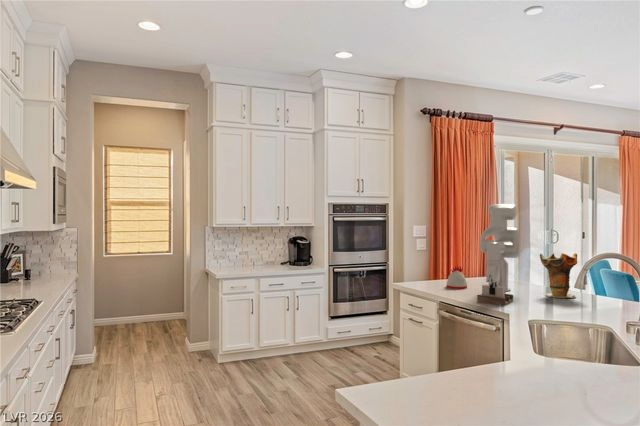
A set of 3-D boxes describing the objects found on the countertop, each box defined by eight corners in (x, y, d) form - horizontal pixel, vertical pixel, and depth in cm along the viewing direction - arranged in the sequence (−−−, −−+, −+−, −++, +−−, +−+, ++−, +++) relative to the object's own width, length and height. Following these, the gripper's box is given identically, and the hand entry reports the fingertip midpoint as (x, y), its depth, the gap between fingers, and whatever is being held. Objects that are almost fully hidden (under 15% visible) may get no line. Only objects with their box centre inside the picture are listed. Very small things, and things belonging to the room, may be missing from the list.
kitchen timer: (469, 289, 309) (469, 267, 309) (449, 289, 309) (449, 267, 309) (463, 285, 323) (463, 264, 322) (444, 285, 323) (444, 264, 323)
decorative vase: (549, 291, 300) (550, 249, 300) (585, 297, 281) (586, 252, 281) (531, 294, 289) (531, 251, 289) (567, 300, 270) (568, 254, 269)
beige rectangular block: (483, 296, 269) (484, 284, 269) (504, 299, 262) (504, 287, 262) (482, 297, 267) (482, 285, 267) (502, 299, 259) (503, 287, 259)
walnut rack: (486, 298, 278) (486, 291, 278) (513, 301, 268) (513, 294, 268) (477, 301, 266) (477, 295, 266) (505, 305, 256) (505, 298, 256)
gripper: (491, 261, 273) (491, 291, 273) (482, 263, 260) (481, 295, 260) (504, 262, 268) (504, 293, 268) (495, 264, 256) (495, 297, 256)
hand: (493, 293), depth 264 cm, fingers closed on beige rectangular block, 2 cm apart
